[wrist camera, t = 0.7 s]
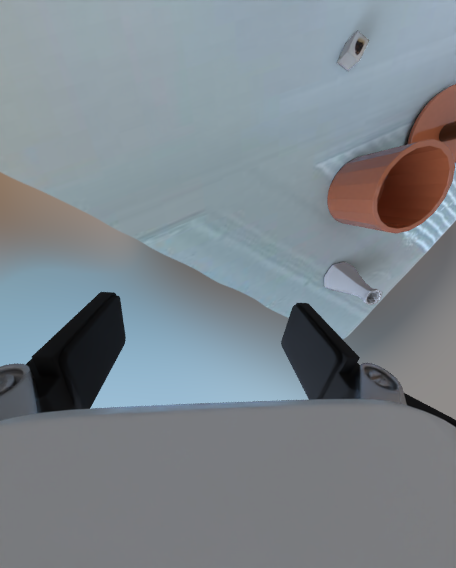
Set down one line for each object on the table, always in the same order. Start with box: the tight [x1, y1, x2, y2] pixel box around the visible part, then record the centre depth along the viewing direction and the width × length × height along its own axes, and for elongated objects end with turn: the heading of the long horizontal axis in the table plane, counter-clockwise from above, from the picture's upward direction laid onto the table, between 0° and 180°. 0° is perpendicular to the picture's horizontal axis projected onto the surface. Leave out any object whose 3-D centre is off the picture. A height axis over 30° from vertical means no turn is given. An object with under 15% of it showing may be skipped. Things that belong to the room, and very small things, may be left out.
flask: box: [324, 262, 382, 305], centre depth 38 cm, size 7×7×10 cm
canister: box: [328, 139, 455, 233], centre depth 30 cm, size 11×12×10 cm
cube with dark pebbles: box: [337, 30, 369, 71], centre depth 25 cm, size 2×2×2 cm
